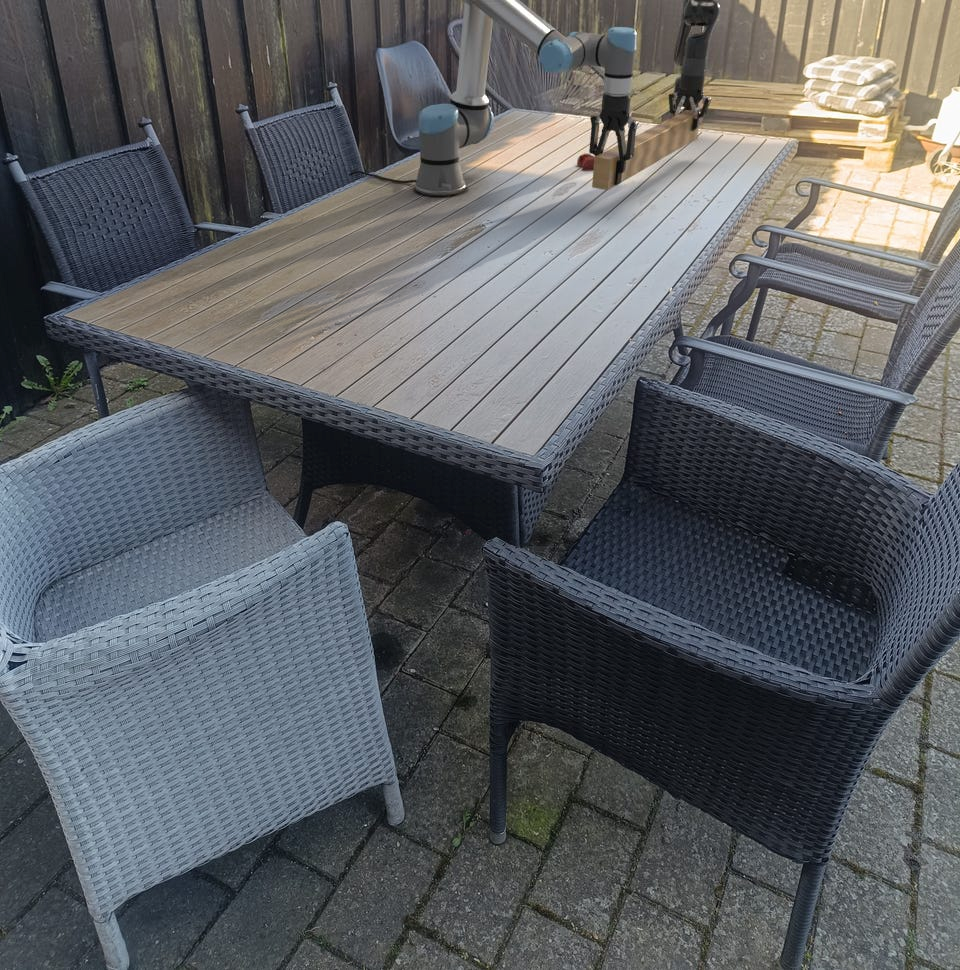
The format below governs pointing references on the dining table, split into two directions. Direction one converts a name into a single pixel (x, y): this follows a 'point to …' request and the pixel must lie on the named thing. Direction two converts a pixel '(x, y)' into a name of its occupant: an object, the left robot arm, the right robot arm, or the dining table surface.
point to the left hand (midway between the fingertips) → (608, 182)
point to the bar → (645, 149)
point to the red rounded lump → (586, 161)
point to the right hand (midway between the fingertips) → (685, 129)
